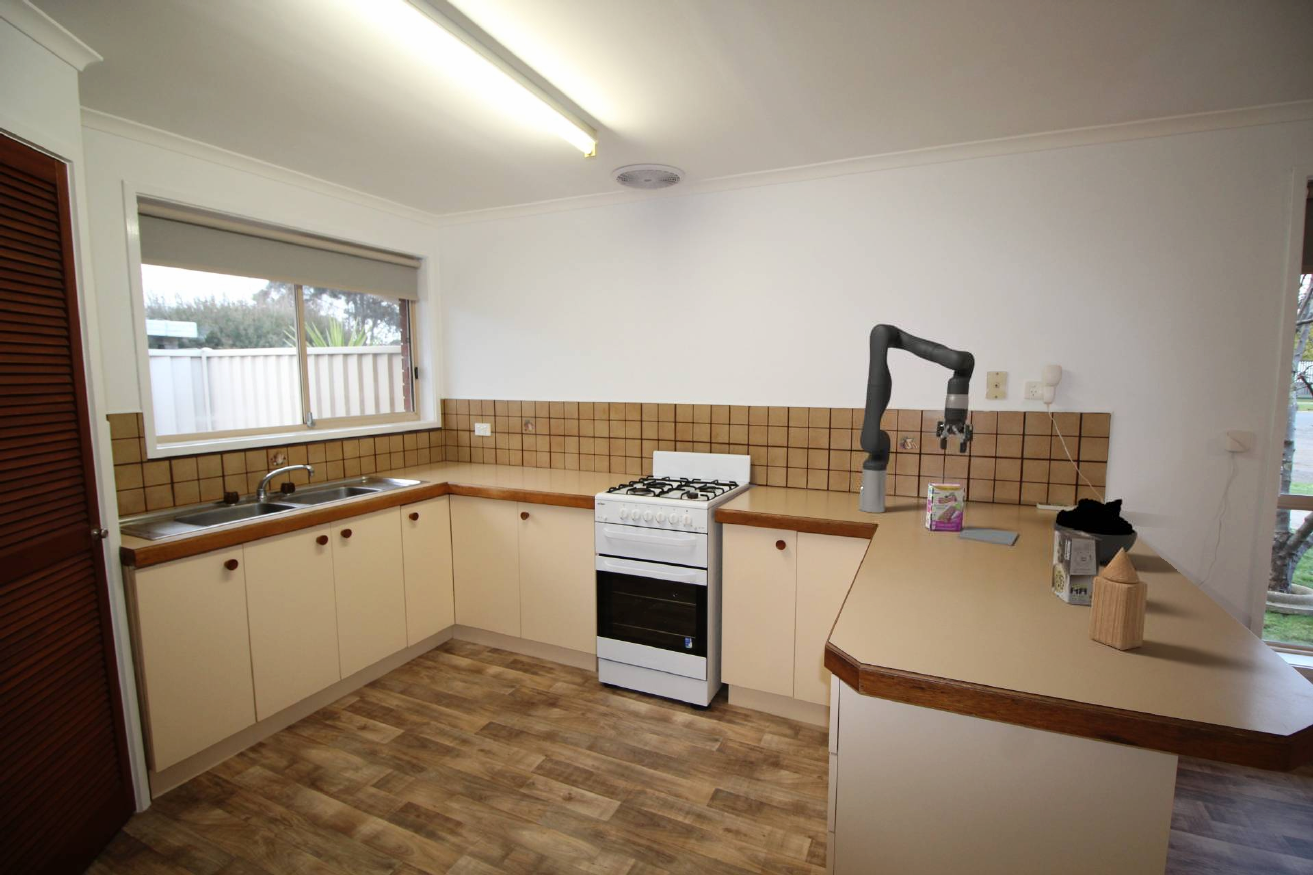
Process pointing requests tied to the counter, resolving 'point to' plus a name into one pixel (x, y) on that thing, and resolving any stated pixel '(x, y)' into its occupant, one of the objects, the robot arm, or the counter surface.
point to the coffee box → (1075, 565)
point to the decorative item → (1118, 605)
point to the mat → (988, 535)
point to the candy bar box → (945, 507)
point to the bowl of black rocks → (1099, 525)
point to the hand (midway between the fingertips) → (952, 451)
